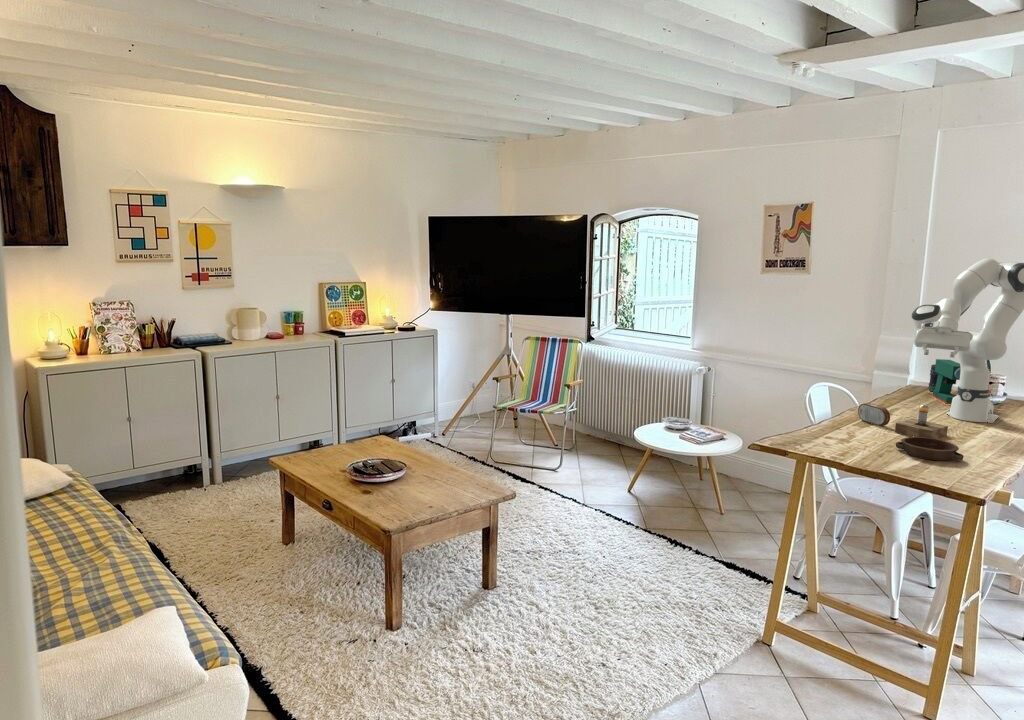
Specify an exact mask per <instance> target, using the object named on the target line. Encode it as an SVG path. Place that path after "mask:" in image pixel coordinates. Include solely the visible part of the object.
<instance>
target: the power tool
mask: <svg viewBox="0 0 1024 720" xmlns="http://www.w3.org/2000/svg"><path fill="white" fill-rule="evenodd" d="M934 365H935V372H937V373H939V374H938V378H937V382H936V386H935V390H933V395H932V394H930V397H931V396H933V397H935V398H936V399H938V400H940V401H942V402H944V403H945V404H952V400H953V397H955V396H956V395H954V394H952V393H951V392H952V389H953V385H956V384H957V380H958V381H960V372H961V368H960V362H957V361H954V360H951V359H944V358H943V359H939V358H937V359H935V363H934Z"/></svg>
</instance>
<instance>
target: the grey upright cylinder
mask: <svg viewBox="0 0 1024 720" xmlns="http://www.w3.org/2000/svg"><path fill="white" fill-rule="evenodd" d="M929 408H930V407H929V406H928V405H926V404H920V405H919V409H918V417H917V420H918V425H919V426H924V427H926V422H928V421H927V420H928V413H929Z"/></svg>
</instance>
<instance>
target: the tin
mask: <svg viewBox="0 0 1024 720" xmlns="http://www.w3.org/2000/svg"><path fill="white" fill-rule="evenodd" d="M857 414H858V418H859V419H860V420H861V421H863V422H865V423H867V424H871V423H872V424H871V425H874V424H875V426H877V425H879V426H878V427H881V426H883V425H884V426H887V425H888V424H889V423H890V422H891V421H890V420H891V414H890V412H889V410H888V409H887V408H886V407H884V406H883V405H879V404H878V405H877V404H875V403H871V402H865V403H861V404H859V406H858V409H857ZM884 426H883V427H884Z"/></svg>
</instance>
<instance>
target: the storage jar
mask: <svg viewBox="0 0 1024 720" xmlns="http://www.w3.org/2000/svg"><path fill="white" fill-rule="evenodd" d="M930 366H931V367H930V373H929V382H928V386H927V388H928V390H929V391H930V392H933V390H935V386H936V382H937V378H938V374H939V373H937V372H935V364H931V365H930ZM928 390H927V391H928Z"/></svg>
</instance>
